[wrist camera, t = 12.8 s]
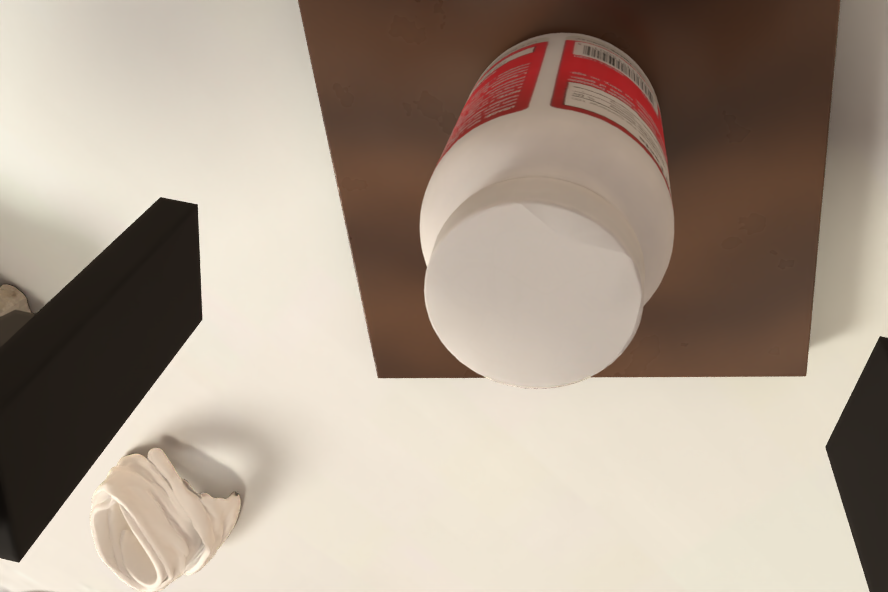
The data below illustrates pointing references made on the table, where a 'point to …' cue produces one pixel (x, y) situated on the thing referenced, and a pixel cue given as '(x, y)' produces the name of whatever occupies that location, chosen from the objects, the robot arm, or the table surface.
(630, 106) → the pill bottle
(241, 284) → the table surface
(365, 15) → the walnut board
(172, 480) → the cream folded ring
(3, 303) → the egg carton
